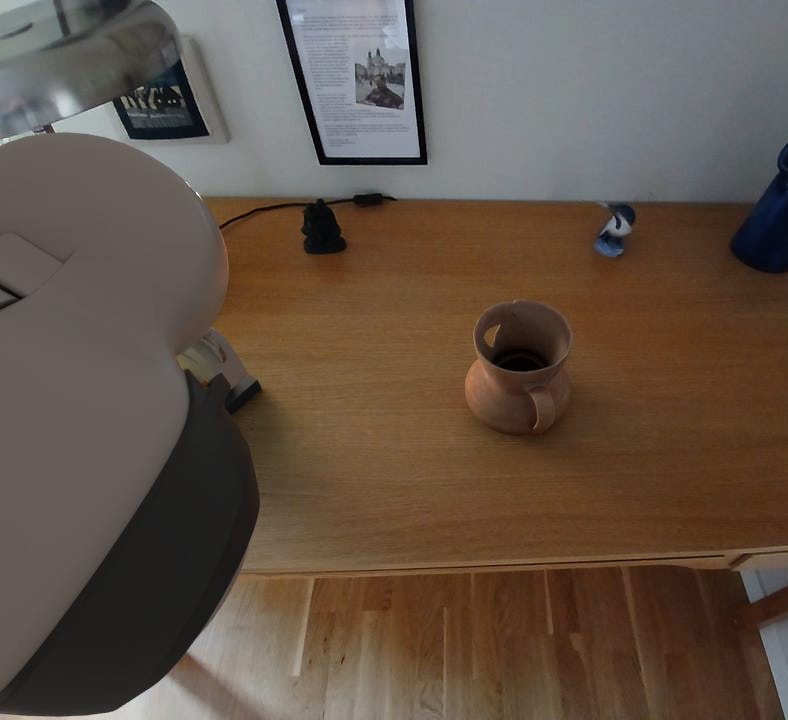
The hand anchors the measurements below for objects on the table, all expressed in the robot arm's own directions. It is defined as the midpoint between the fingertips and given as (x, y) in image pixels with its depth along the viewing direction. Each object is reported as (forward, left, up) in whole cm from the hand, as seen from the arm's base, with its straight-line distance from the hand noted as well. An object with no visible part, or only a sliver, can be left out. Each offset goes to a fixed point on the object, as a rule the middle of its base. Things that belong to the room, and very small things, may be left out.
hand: (199, 374), depth 74 cm
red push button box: (0, 0, -5) cm, 5 cm away
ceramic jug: (+23, -36, -6) cm, 43 cm away
